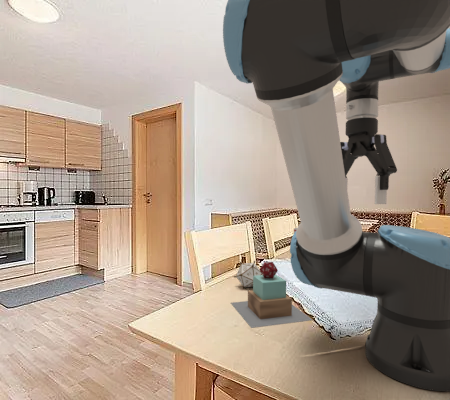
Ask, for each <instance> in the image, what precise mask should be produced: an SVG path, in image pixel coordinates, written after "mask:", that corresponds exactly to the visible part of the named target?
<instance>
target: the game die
mask: <svg viewBox="0 0 450 400" xmlns="http://www.w3.org/2000/svg"><path fill="white" fill-rule="evenodd" d="M239 264H240V266H239V268H238V270H237V273H236V275H234V276H233V278H236V279H237V280H238V281H239V283H240V284H241V286H242V289H243V290H244V289H246V288H251V287H252V288H253V276H257V275H262V273H261V271H260V270H259V269H260V268H259V266H258V265H257V264H256V260H254V261H253V262H247V263H246V262H245V263H244V262H243V263H242V262H241V261H239Z"/></svg>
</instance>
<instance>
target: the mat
mask: <svg viewBox="0 0 450 400" xmlns="http://www.w3.org/2000/svg"><path fill="white" fill-rule="evenodd" d="M230 304H231V306H232V307H233V308H234V309H235V310H236V312H237V313H238V314H239V315H240V317H242V319H243V320H244V321H245V322H246V323H247V324H248V326H249V327H250V328H251V329H252V328H253V329H254V328H263V327H271V326H278V325H284V324H285V325H286V324H293V323H299V322H300V323H302V322H310V321H313V319H312V318H311V317H310V316H309V315H308V314H306V313H305V312H303V311H302V310H300V309H299V308H298V307H296V306H295V305H293V304H292V316H283V317H275V318H267V319H259V318H258V317H257V316H256V314H255V313H254V312H253V311H252V310H251V309H250V308H249V307H248V300H245V301H233V302H230Z"/></svg>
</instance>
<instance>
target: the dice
mask: <svg viewBox="0 0 450 400" xmlns="http://www.w3.org/2000/svg"><path fill="white" fill-rule="evenodd" d="M259 270H260V271H261V273H262V275H263V276H264V278H273V277H274V276H275V274H276V275H277V272H278V268H277V266H276V265H275V263H274V262H273V261H263V264H262V265H261V267H260V268H259Z"/></svg>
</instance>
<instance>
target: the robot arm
mask: <svg viewBox="0 0 450 400" xmlns="http://www.w3.org/2000/svg"><path fill="white" fill-rule="evenodd" d="M223 15H224V16H223V22H222V23H223V25H222V38H223V41H222V42H223V47H224V48H223V49H224V53H225V57H226V62H227V65H228V67H229V69H230V70H231V73H232V75H234V76H235V77H236V80H238V81H239V82H241V83H244V84H252V85H253V88H254V91H255V94H256V95H255V96H256V99H257V100H258V101H260V102H261V103H263V104H266V105H268V107H270V108H271V113H272V116H273V120H274V124H275V129H276V132H277V135H278V141H279V143H280V148H281V151H282V154H283V158H284V162H285V163H284V164H285V166H286V170H287V171H286V172H287V174H288V177H289V183H290V185H291V189H292V193H293V194H292V195H293V196H294V197H293V198H294V200H295V205H296V208H297V213H298V216H299V220H300V223H299V224H298V226H297V227H296V228H297V230H296V231H295V233H294V232H293V234H292V237H291V241H290V248H289V253H290V254H291V256H290V258H289V259H290V260H289V261H290V265H291V268H292V271H293V273H294V275H295V276H296V278H297V279H298V281H299V282H301V283H302V284H304V285H308V286H312V287H315V288H317V289H320V290H321V289H326V290H330V291H331V290H332V291H338V292H343V293H348V294H354V295H361V296H366V297H372V298H375V299H377V306H376V307H377V309H376V314H375V318H374V320H373V322H372V325H371V328H370V333H369V334H368V335H367V337H366V340H365V356H366V358H367V360H368V362H369V363H370V364H371V365H372V366H373V368H375V369H376V370H379V372H381V373H383V374H384V375H386V376H388V377H390V378H391V379H393V380H396V381H397V382H400V383H403V384H406V385H408V386H412V387H415V388H419V389H424V390H427V391H428V390H429V391H434V392H435V391H438V392H450V236H447V235H444V234H440V233H437V232H434V231H428V230H425V229H419V228H414V227H410V226H409V227H407V226H400V225H398V226H397V225H391V224H383V225H380V227H379V229H378V230H377V232H372V231H371V232H370V231H363V226H362V223H361V221H360V220H359V219H358V218H357V217H356V216H355V215H353V214H352V213H351V207H350V200H349V192H348V184H349V183H348V180H349V179H348V173H349V171H350V169H351V168H352V166H353V165H354V163H355V161H356V160H358V159H359V158H360V157H361V158H362V157H366V158H367V160H368V161H369V162H370V164H371V167H373V169H374V170H375V173H376V176H375V178H374V179H375V180H374V204H375V205H387V194H388V193H387V191H388V190H389V186H390V185H389V183H390V179H389V178H390V176H391V175H392V174H395V173H398V169H397V166H396V163H395V161H394V158H393V155H392V154H391V153H392V152H391V150H390V148H389V146H388V143H387V142H388V141H387V135H386V134H381V133H380V134H379V133H378V131H379V130H378V129H379V128H378V127H379V121H378V119H377V118H378V117H379V84H380V82H383V81H389V80H394V79H400V78H404V77H411V76H418V75H424V74H435V73H437V72H440V71H446V70H449V69H450V0H227V2H226V6H225V11H224V14H223ZM339 81H340V82H341V83H342V84H343V86H344V87H345V88H346V94H345V95H346V99H345V100H346V103H345V104H346V105H345V107H346V108H345V119H346V120H347V121H345V135H346V136H347V138H348V141H341V137H340V130H339V124H338V117H337V111H336V110H337V108H336V104H335V97H334V88H335V87H336V85H337V83H338V82H339Z"/></svg>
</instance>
